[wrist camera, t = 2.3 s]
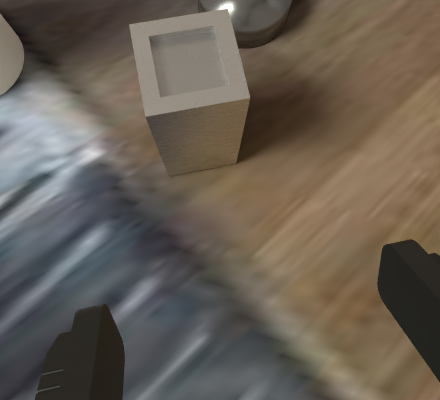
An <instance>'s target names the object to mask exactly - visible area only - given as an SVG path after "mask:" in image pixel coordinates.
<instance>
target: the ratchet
mask: <svg viewBox="0 0 440 400" xmlns="http://www.w3.org/2000/svg"><path fill="white" fill-rule="evenodd" d="M291 3H292V0H198V10H199V13H203V12H209V11H215V10H221V9H229V13H230V18H231V22H232V26H233V30H234V34H235V38H236V42H237V46H238V48H253V47H258V46H261V45H264V44H266V43H268V42H270V41H271V40H273V39H274V38H275V37H276V36H277V35H278V34H279V33H280V32H281V31H282V29H283V27H284V25H285V23H286V20H287V17H288V13H289V10H290V6H291Z"/></svg>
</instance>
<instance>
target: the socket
mask: <svg viewBox="0 0 440 400" xmlns="http://www.w3.org/2000/svg"><path fill="white" fill-rule="evenodd" d="M129 27H130V33H131V38H132V44H133V49H134V55H135V61H136V66H137V72H138V78H139V83H140V89H141V94H142V100H143V106H144V111H145V117H146V119H147V122H148V124H149V127H150V130H151V132H152V135H153V137H154V140H155V142H156V145H157V147H158V150H159V152H160V155H161V158H162V160H163V163H164V165H165V168H166V170H167V173H168V175H169V176H175V175H180V174H185V173H190V172H196V171H201V170H206V169H211V168H216V167H222V166H227V165H232V164H236V162H237V157H238V153H239V148H240V143H241V139H242V134H243V130H244V125H245V120H246V116H247V111H248V106H249V102H250V95H249V91H248V87H247V82H246V78H245V74H244V70H243V66H242V62H241V58H240V54H239V50H238V46H237V42H236V38H235V34H234V30H233V26H232V22H231V18H230V13H229V9H221V10H215V11H209V12H203V13H197V14H191V15H184V16H178V17H172V18H166V19H160V20H154V21H147V22H141V23H135V24H129Z"/></svg>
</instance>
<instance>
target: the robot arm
mask: <svg viewBox="0 0 440 400" xmlns="http://www.w3.org/2000/svg"><path fill="white" fill-rule="evenodd" d="M377 284H378V291H379V294H380V297H381V299H382V301H383V302H384V304H385V305H386V307H387V308H388V310H389V311H390V312H391V314H392V315H393V317H394V318H395V320H396V321H397V322H398V324H399V325H400V327H401V328H402V329H403V331H404V332H405V334H406V335H407V336H408V338H409V339H410V341H411V342H412V344H413V345H414V346H415V348H416V349H417V351H418V352H419V353H420V355H421V356H422V358H423V359H424V360H425V362H426V363H427V365H428V366H429V368H430V369H431V370H432V372H433V373H434V375H435V376H436V377H437V379H438V380H439V382H440V256H439V255H437V254H436V253H433V254H428V253H427V252H426V251H425V250H424V249H423V248H422V247H421V246H420V245H419V244H418V243H417V242H416V241H414V240H411V239H410V240H405V241H400V242H396V243H391V244H386V245H384V246H383V249H382V254H381V261H380V268H379V275H378V282H377ZM124 363H125V354H124V346H123V341H122V338H121V336H120V333H119V331H118V329H117V326H116V324H115V322H114V319H113V317H112V315H111V313H110V310H109V308H108V306H107V305H106V304H103V305H98V306H94V307H89V308H84V309H80V310H77V311H76V313H75V317H74V321H73V326H72V331H71V332H67V333H63V334H59V336H58V337H57V339H56V340H55V342H54V343H53V345H52V346H51V348H50V349H49V351H48V352H47V355H46V359H45V363H44V367H43V371H42V377H41V378H40V382H39V386H38V389H37V390H38V394H36V397H35V400H122V396H123V380H124Z"/></svg>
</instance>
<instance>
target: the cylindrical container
mask: <svg viewBox="0 0 440 400" xmlns="http://www.w3.org/2000/svg"><path fill="white" fill-rule="evenodd" d="M23 64H24V49H23V45H22V43H21V41H20V39H19V37H18V36H17V34H16V33H15V32H14V30H13V29H12V28H11V27H10V25H9V24H8V23H7V21H6V20H5V19H4V18H3V16H2V15H1V14H0V96H1V95H2V94H4V93H5V92H6V91H7V90H8V89H10V88H11V87H12V86H13V85H14V83H15V82H16V80H17V79H18V77H19V76H20V73H21V71H22V68H23Z"/></svg>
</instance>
